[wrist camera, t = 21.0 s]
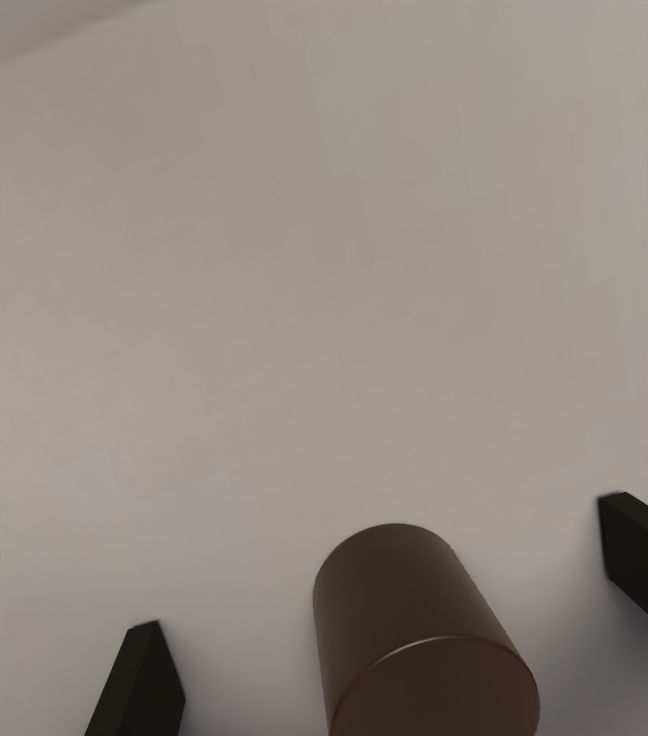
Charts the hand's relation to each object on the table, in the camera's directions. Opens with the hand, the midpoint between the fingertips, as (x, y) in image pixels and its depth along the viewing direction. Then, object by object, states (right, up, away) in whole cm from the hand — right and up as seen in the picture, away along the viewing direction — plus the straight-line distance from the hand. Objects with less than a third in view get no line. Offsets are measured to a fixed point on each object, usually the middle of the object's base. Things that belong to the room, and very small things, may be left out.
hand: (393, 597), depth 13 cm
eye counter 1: (0, 0, 0) cm, 0 cm away
